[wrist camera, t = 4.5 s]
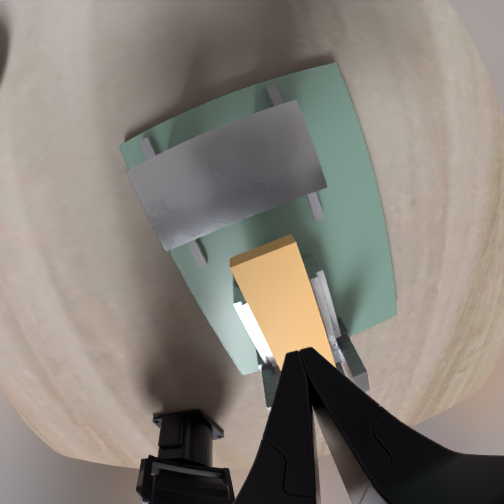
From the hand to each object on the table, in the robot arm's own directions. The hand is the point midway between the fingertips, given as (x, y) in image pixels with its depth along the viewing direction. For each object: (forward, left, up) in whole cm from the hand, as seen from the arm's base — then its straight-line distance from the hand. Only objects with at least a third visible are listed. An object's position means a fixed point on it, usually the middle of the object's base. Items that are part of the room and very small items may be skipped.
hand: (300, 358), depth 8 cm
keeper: (+5, 0, -11) cm, 13 cm away
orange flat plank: (-5, 0, -8) cm, 9 cm away
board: (-1, -1, -12) cm, 12 cm away
